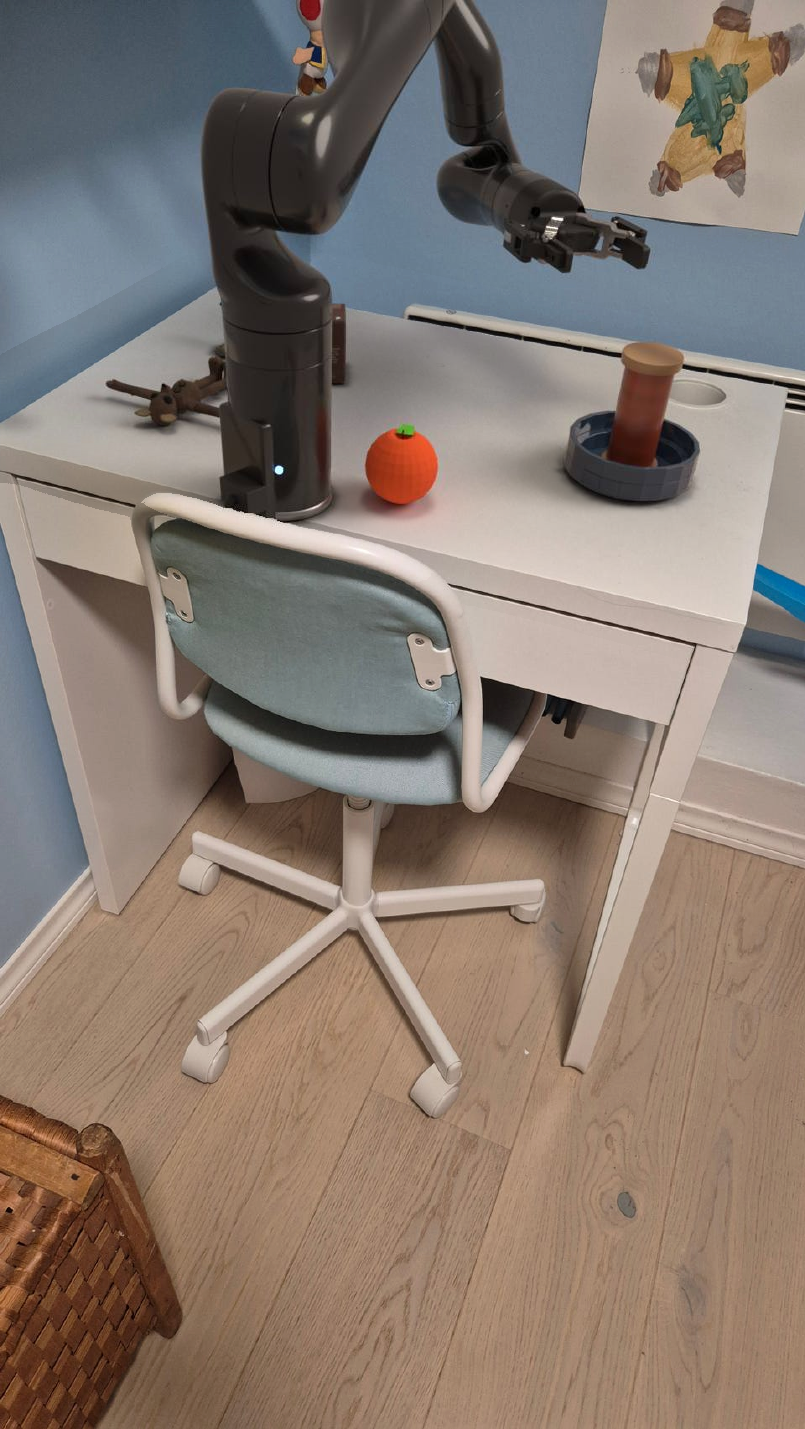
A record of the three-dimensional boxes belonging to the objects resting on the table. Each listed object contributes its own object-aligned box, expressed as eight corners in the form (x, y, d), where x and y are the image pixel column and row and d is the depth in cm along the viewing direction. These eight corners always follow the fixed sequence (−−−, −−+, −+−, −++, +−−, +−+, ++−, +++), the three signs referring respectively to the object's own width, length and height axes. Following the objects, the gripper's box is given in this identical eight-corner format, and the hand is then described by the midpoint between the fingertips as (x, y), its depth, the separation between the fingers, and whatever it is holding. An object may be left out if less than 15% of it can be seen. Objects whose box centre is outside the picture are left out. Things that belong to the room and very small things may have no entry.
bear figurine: (295, 372, 108) (224, 409, 97) (294, 411, 111) (224, 450, 100) (158, 339, 113) (76, 370, 102) (160, 377, 116) (80, 411, 105)
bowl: (641, 520, 94) (651, 482, 92) (538, 469, 101) (543, 433, 98) (714, 479, 101) (724, 443, 99) (612, 434, 108) (620, 400, 105)
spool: (634, 488, 98) (661, 370, 90) (588, 466, 101) (610, 351, 93) (666, 470, 101) (696, 355, 93) (621, 450, 104) (645, 337, 96)
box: (345, 365, 119) (346, 303, 114) (345, 385, 114) (346, 322, 109) (295, 363, 118) (294, 300, 113) (292, 383, 114) (291, 319, 109)
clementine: (376, 472, 99) (378, 405, 94) (443, 483, 98) (449, 415, 93) (355, 510, 93) (357, 440, 88) (427, 522, 92) (433, 452, 87)
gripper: (482, 179, 104) (549, 222, 93) (600, 177, 108) (678, 217, 97) (474, 254, 109) (537, 303, 98) (588, 249, 113) (660, 296, 102)
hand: (607, 261), depth 97 cm, fingers open, 8 cm apart
